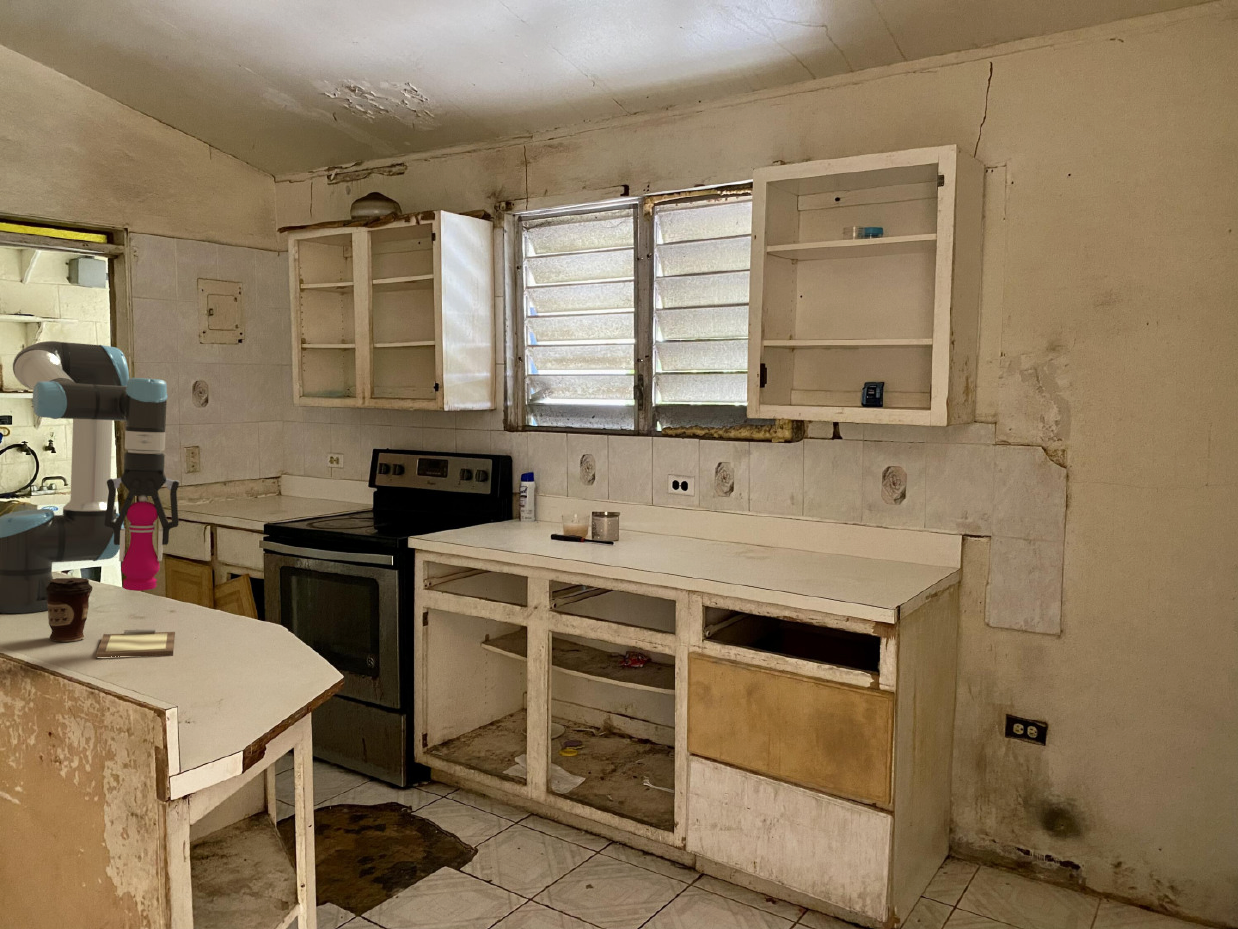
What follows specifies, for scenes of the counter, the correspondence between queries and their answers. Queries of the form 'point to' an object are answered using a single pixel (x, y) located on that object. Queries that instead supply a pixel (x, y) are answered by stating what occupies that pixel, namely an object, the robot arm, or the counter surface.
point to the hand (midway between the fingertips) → (140, 559)
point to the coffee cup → (68, 607)
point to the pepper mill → (141, 547)
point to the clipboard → (137, 643)
